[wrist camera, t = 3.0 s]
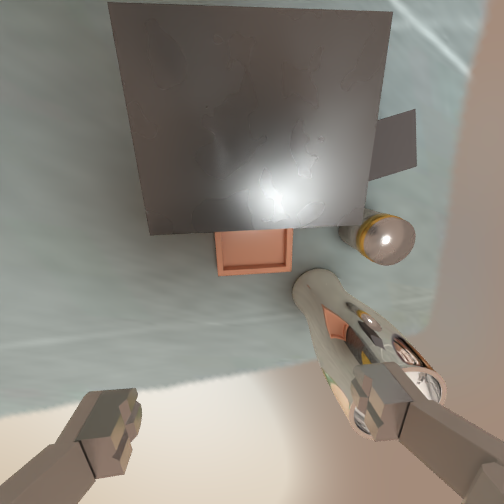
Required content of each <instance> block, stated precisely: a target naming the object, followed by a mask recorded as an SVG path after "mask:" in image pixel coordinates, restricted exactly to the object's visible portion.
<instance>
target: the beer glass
mask: <svg viewBox="0 0 504 504" xmlns="http://www.w3.org/2000/svg"><path fill="white" fill-rule="evenodd" d="M292 297H293V301H294V303H295V304H296V306H297V307H298V308H299V309H300V310H301V311H302V312H303V314H304V315H305V317H306V319H307V322H308V326H309V330H310V335H311V339H312V343H313V347H314V350H315V354H316V357H317V360H318V362H319V365H320V367H321V369H322V371H323V374H324V376H325V378H326V380H327V382H328V384H329V386H330V388H331V390H332V392H333V394H334V395H335V397H336V399H337V401H338V403H339V404H340V406H341V408H342V409H343V411H344V413H345V415H346V417H347V418H348V420H349V422H350V425H351V427H352V428H353V430H354V431H355V432H356V433H357V434H359V435H360V436H362V437H365V438H367V439H371V440H374V439H373V437H372V435H371V433H370V432H369V430H368V428H367V426H366V424H365V422H364V418H365V415H364V414H363V413H362V412H360V411H359V410H358V409H357V407H356V405H355V403H354V401H353V398H352V395H351V389H350V387H351V381H352V380H353V379H354V378H355V376H354V374H353V368H354V367H355V366H356V365H363V364H372V363H383V362H393V361H394V362H395V363H397V364H398V365H399V366H400V368H401V369H402V370H403V371H404V372H405V373H406V374H407V376H408V377H409V378H410V379H411V380H412V381H413V383H414V384H415V385H416V386H417V387H418V388H419V389H420V391H421V392H422V393H423V394H424V395H425V396H426V398H427V399H428V400H434V401H436V402H437V403H439V404H441V405H442V406H443V405H444V402H445V400H446V396H447V388H446V384H445V381H444V380H443V378H442V377H441V376H440V375H439V374H438V373H437V372H436V371H435V370H434V369H433V368H432V367H431V366H430V364H429V363H428V362H427V361H426V360H425V359H424V357H423V356H422V355H421V354H420V353H419V352H418V351H417V350H416V348H415V347H414V346H413V345H412V344H411V343H410V342H409V341H408V340H407V339H406V338H405V337H404V336H403V335H402V334H401V333H400V331H399V330H397V329H396V328H395V327H394V326H393V325H392V324H391V323H390V322H389V321H387V320H386V319H385V318H384V317H383V316H381V315H380V314H378V313H377V312H376V311H374V310H373V309H372V308H370V307H369V306H367V305H365V304H364V303H362V302H361V301H359V300H358V299H356V298H354V297H353V296H352V295H350V294H349V293H348V292H346V291H345V289H344V288H343V286H342V284H341V283H340V281H339V279H338V277H337V276H336V275H335V274H334V273H333V272H331V271H329V270H326V269H321V268H318V269H312V270H309V271H307V272H305V273H303V274H302V275H301V276H300V277H299V278H298V279H297V280H296V282H295V284H294V286H293V289H292Z"/></svg>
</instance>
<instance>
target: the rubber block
mask: <svg viewBox="0 0 504 504" xmlns="http://www.w3.org/2000/svg"><path fill="white" fill-rule="evenodd" d="M416 166H417V156H416V113H415V109H413V110H410V111H407V112H404V113H400V114H397V115H394V116H390V117H387V118H384V119H381V120H377V125H376V132H375V139H374V146H373V152H372V159H371V166H370V173H369V180H368V181H371V180H374V179H378V178H381V177H384V176H387V175H390V174H394V173H397V172H400V171H403V170H406V169H410V168H413V167H416Z"/></svg>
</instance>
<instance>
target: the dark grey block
mask: <svg viewBox="0 0 504 504" xmlns="http://www.w3.org/2000/svg"><path fill="white" fill-rule="evenodd" d="M107 3H108V9H109V14H110V19H111V25H112V30H113V36H114V41H115V47H116V52H117V57H118V63H119V68H120V74H121V79H122V85H123V90H124V96H125V101H126V106H127V112H128V117H129V123H130V128H131V134H132V139H133V145H134V150H135V155H136V161H137V166H138V172H139V177H140V183H141V188H142V193H143V199H144V204H145V210H146V215H147V221H148V226H149V232H150V235H166V234H187V233H207V232H228V231H248V230H269V229H289V228H310V227H331V226H351V225H362V221H363V214H364V207H365V200H366V193H367V187H368V180H369V173H370V166H371V159H372V152H373V146H374V139H375V132H376V125H377V118H378V111H379V104H380V98H381V91H382V84H383V77H384V70H385V63H386V56H387V50H388V43H389V36H390V29H391V22H392V15H393V12H384V11H354V10H324V9H294V8H264V7H235V6H205V5H175V4H145V3H115V2H107Z"/></svg>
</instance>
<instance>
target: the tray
mask: <svg viewBox="0 0 504 504" xmlns="http://www.w3.org/2000/svg"><path fill="white" fill-rule="evenodd" d="M215 243H216V255H217V267H218V276H228V275H244V274H259V273H275V272H290V271H291V268H292V243H293V228H289V229H269V230H248V231H228V232H215Z"/></svg>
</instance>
